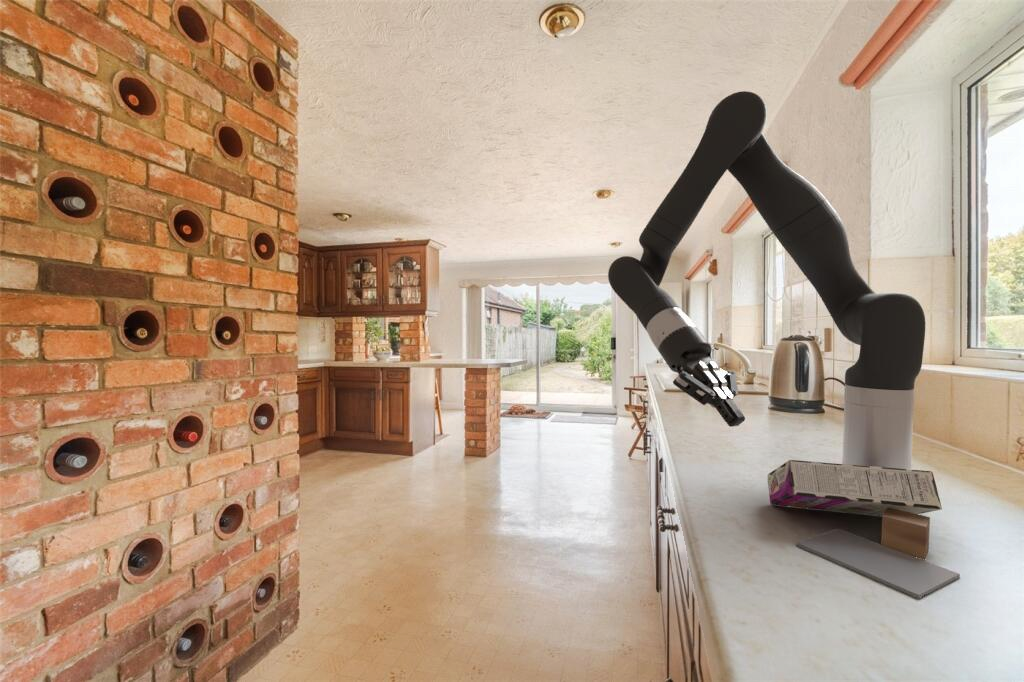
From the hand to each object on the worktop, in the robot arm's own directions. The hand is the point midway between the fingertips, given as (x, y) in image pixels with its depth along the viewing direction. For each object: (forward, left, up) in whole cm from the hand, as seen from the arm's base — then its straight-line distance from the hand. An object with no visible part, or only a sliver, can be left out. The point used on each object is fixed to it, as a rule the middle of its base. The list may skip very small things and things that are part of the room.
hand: (738, 423), depth 67 cm
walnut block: (-7, +18, -13) cm, 23 cm away
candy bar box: (-3, +4, -8) cm, 9 cm away
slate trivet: (0, +17, -13) cm, 22 cm away
